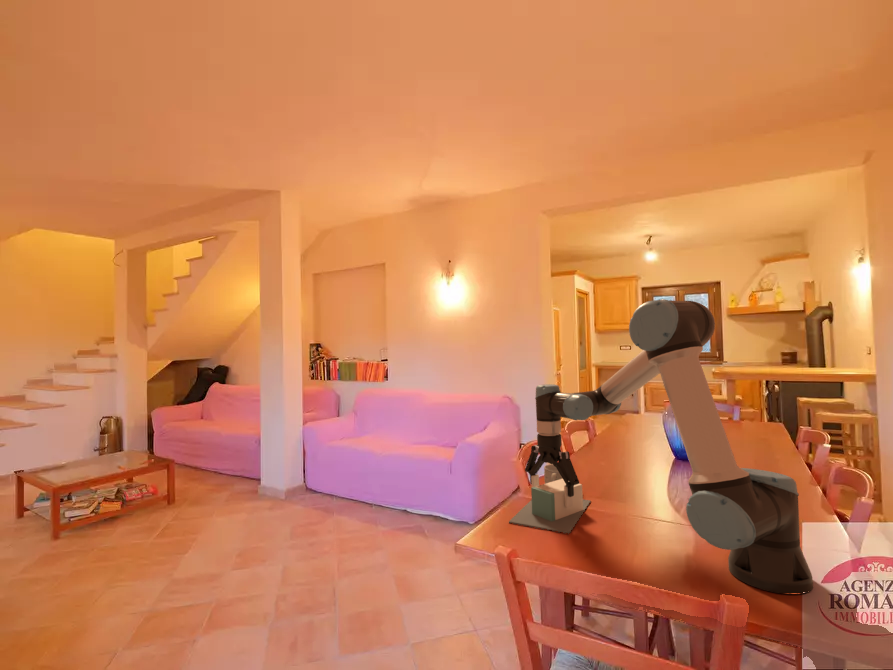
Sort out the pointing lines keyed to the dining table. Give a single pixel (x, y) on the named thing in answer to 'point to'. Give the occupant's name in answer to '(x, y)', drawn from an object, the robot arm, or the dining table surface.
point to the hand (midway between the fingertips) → (551, 500)
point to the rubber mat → (559, 525)
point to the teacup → (551, 473)
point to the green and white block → (555, 500)
